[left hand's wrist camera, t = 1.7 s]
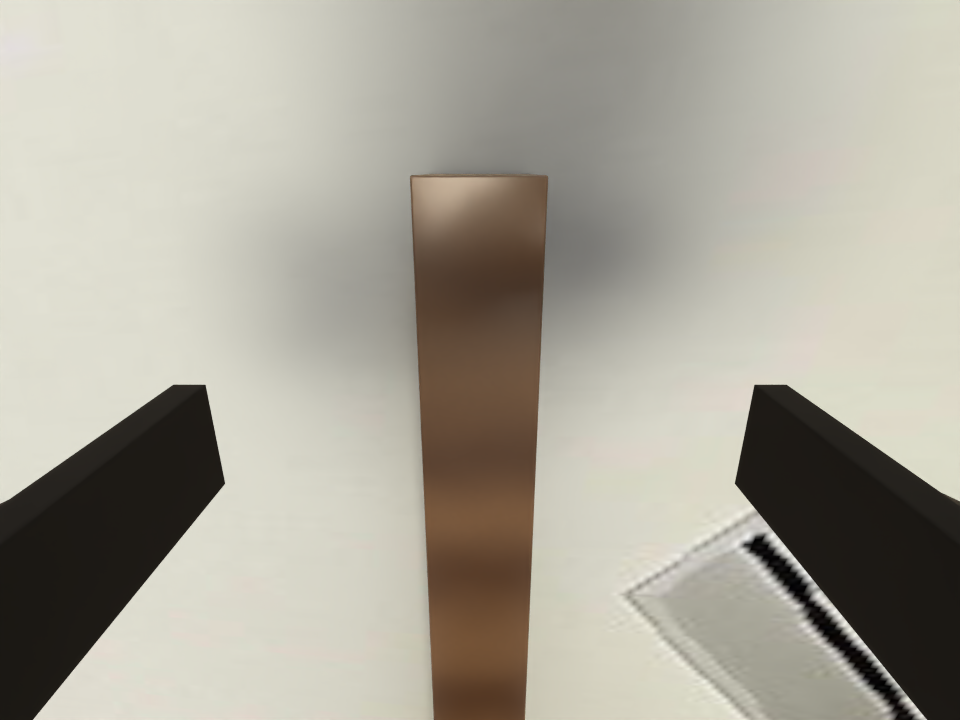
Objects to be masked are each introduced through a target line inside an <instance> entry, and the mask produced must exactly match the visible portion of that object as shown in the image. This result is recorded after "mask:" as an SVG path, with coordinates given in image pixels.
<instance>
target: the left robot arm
mask: <svg viewBox="0 0 960 720" xmlns="http://www.w3.org/2000/svg"><path fill="white" fill-rule="evenodd" d="M224 484H225V481H224V476H223V471H222V466H221V461H220V456H219V451H218V446H217V441H216V436H215V430H214V425H213V420H212V415H211V410H210V405H209V400H208V395H207V390H206V385H172V386H171V387H170V388H168V389H167V390H165V391H164V392H162V393H161V394H160V395H158V396H157V397H155V398H154V399H152V400H151V401H150V402H148V403H147V404H145V405H144V406H142V407H141V408H140V409H138V410H137V411H135V412H134V413H132V414H131V415H130V416H128V417H127V418H125V419H124V420H122V421H121V422H120V423H118V424H117V425H115V426H114V427H112V428H111V429H110V430H108V431H107V432H105V433H104V434H102V435H101V436H100V437H98V438H97V439H95V440H94V441H92V442H91V443H90V444H88V445H87V446H85V447H84V448H82V449H81V450H79V451H78V452H77V453H75V454H74V455H72V456H71V457H69V458H68V459H67V460H65V461H64V462H62V463H61V464H59V465H58V466H57V467H55V468H54V469H52V470H51V471H49V472H48V473H47V474H45V475H44V476H42V477H41V478H39V479H38V480H37V481H35V482H34V483H32V484H31V485H29V486H28V487H27V488H25V489H24V490H22V491H21V492H19V493H18V494H17V495H15V496H14V497H12V498H11V499H9V500H7V501H5V502H3V503H1V504H0V720H33V719H34V718H35V716H36V715H37V714H38V713H39V712H40V710H41V709H42V708H43V707H44V705H45V704H46V703H47V702H48V700H49V699H50V698H51V697H52V696H53V694H54V693H55V692H56V691H57V689H58V688H59V687H60V686H61V685H62V683H63V682H64V681H65V680H66V678H67V677H68V676H69V675H70V673H71V672H72V671H73V670H74V669H75V667H76V666H77V665H78V664H79V662H80V661H81V660H82V659H83V658H84V656H85V655H86V654H87V653H88V651H89V650H90V649H91V648H92V646H93V645H94V644H95V643H96V642H97V640H98V639H99V638H100V637H101V635H102V634H103V633H104V632H105V630H106V629H107V628H108V627H109V626H110V624H111V623H112V622H113V621H114V619H115V618H116V617H117V616H118V615H119V613H120V612H121V611H122V610H123V608H124V607H125V606H126V605H127V603H128V602H129V601H130V600H131V599H132V597H133V596H134V595H135V594H136V592H137V591H138V590H139V589H140V587H141V586H142V585H143V584H144V583H145V581H146V580H147V579H148V578H149V576H150V575H151V574H152V573H153V572H154V570H155V569H156V568H157V567H158V565H159V564H160V563H161V562H162V560H163V559H164V558H165V557H166V556H167V554H168V553H169V552H170V551H171V549H172V548H173V547H174V546H175V545H176V543H177V542H178V541H179V540H180V538H181V537H182V536H183V535H184V533H185V532H186V531H187V530H188V529H189V527H190V526H191V525H192V524H193V522H194V521H195V520H196V519H197V517H198V516H199V515H200V514H201V513H202V511H203V510H204V509H205V508H206V506H207V505H208V504H209V503H210V502H211V500H212V499H213V498H214V497H215V495H216V494H217V493H218V492H219V490H220V489H221V488H222V487H223V486H224ZM735 484H736V486H737V487H738V488H739V489H740V490H741V492H742V493H743V494H744V495H745V497H746V498H747V499H748V500H749V502H750V503H751V504H752V505H753V506H754V508H755V509H756V510H757V511H758V513H759V514H760V515H761V516H762V517H763V519H764V520H765V521H766V522H767V524H768V525H769V526H770V527H771V529H772V530H773V531H774V532H775V533H776V535H777V536H778V537H779V538H780V540H781V541H782V542H783V543H784V545H785V546H786V547H787V548H788V549H789V551H790V552H791V553H792V554H793V556H794V557H795V558H796V559H797V560H798V562H799V563H800V564H801V565H802V567H803V568H804V569H805V570H806V572H807V573H808V574H809V575H810V576H811V578H812V579H813V580H814V581H815V583H816V584H817V585H818V586H819V587H820V589H821V590H822V591H823V592H824V594H825V595H826V596H827V597H828V599H829V600H830V601H831V602H832V603H833V605H834V606H835V607H836V608H837V610H838V611H839V612H840V613H841V615H842V616H843V617H844V618H845V619H846V621H847V622H848V623H849V624H850V626H851V627H852V628H853V629H854V630H855V632H856V633H857V634H858V635H859V637H860V638H861V639H862V640H863V642H864V643H865V644H866V645H867V646H868V648H869V649H870V650H871V651H872V653H873V654H874V655H875V656H876V658H877V659H878V660H879V661H880V662H881V664H882V665H883V666H884V667H885V669H886V670H887V671H888V672H889V673H890V675H891V676H892V677H893V678H894V680H895V681H896V682H897V683H898V685H899V686H900V687H901V688H902V689H903V691H904V692H905V693H906V694H907V696H908V697H909V698H910V699H911V701H912V702H913V703H914V704H915V705H916V707H917V708H918V709H919V710H920V712H921V713H922V714H923V715H924V716H925V718H926V719H927V720H960V501H958V500H955V499H953V498H951V497H949V496H947V495H945V494H943V493H941V492H939V491H938V490H936V489H935V488H933V487H932V486H931V485H929V484H928V483H926V482H925V481H923V480H922V479H921V478H919V477H918V476H916V475H915V474H913V473H912V472H911V471H909V470H908V469H906V468H905V467H903V466H902V465H901V464H899V463H898V462H896V461H895V460H893V459H892V458H891V457H889V456H888V455H886V454H885V453H883V452H882V451H881V450H879V449H878V448H876V447H875V446H873V445H872V444H870V443H869V442H868V441H866V440H865V439H863V438H862V437H860V436H859V435H858V434H856V433H855V432H853V431H852V430H850V429H849V428H848V427H846V426H845V425H843V424H842V423H840V422H839V421H838V420H836V419H835V418H833V417H832V416H830V415H829V414H828V413H826V412H825V411H823V410H822V409H820V408H819V407H818V406H816V405H815V404H813V403H812V402H810V401H809V400H808V399H806V398H805V397H803V396H802V395H800V394H799V393H798V392H796V391H795V390H793V389H792V388H790V387H789V386H788V385H754V390H753V395H752V400H751V405H750V410H749V415H748V420H747V425H746V430H745V436H744V441H743V446H742V451H741V456H740V461H739V466H738V471H737V476H736V481H735Z"/></svg>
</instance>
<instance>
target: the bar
mask: <svg viewBox="0 0 960 720" xmlns="http://www.w3.org/2000/svg"><path fill="white" fill-rule="evenodd" d="M410 187H411V210H412V232H413V255H414V278H415V300H416V323H417V346H418V369H419V391H420V414H421V437H422V459H423V482H424V505H425V527H426V550H427V573H428V596H429V618H430V641H431V664H432V686H433V709H434V720H525V704H526V681H527V657H528V634H529V611H530V587H531V564H532V541H533V517H534V494H535V471H536V448H537V424H538V401H539V378H540V354H541V331H542V308H543V284H544V261H545V238H546V214H547V191H548V176H546V175H534V174H424V175H412V176H410Z"/></svg>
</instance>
